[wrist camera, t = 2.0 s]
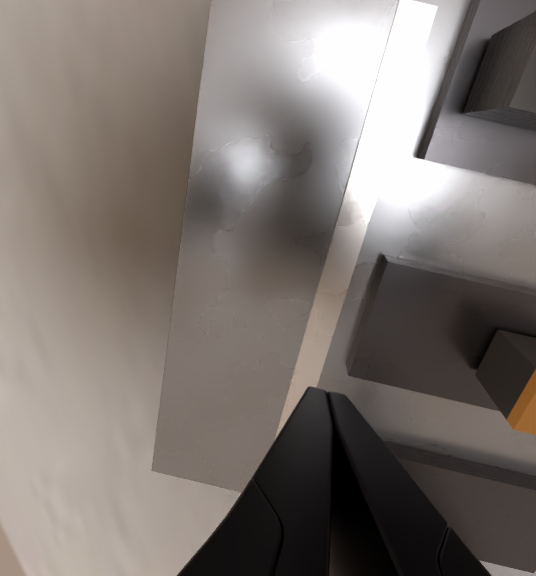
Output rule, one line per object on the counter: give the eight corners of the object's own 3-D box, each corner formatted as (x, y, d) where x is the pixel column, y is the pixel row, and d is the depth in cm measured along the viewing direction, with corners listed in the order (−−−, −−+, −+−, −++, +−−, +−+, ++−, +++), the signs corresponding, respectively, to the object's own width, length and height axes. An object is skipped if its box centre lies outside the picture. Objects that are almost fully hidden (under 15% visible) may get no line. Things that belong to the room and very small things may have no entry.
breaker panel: (641, 559, 19) (752, 699, 14) (162, 445, 19) (115, 547, 14) (1044, 120, 11) (1584, 109, 6) (233, -63, 11) (180, -204, 7)
